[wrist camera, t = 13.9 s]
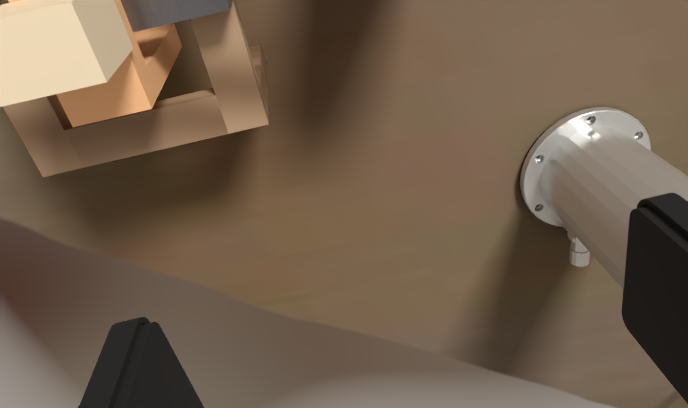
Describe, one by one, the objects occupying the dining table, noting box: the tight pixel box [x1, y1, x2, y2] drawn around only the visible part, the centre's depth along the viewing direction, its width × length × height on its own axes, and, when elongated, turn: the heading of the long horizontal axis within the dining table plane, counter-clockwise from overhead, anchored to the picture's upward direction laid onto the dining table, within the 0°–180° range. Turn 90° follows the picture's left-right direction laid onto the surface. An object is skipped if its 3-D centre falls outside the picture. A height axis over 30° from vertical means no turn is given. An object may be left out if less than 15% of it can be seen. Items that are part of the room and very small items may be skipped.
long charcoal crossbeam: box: [0, 0, 233, 32], centre depth 26 cm, size 2×14×2 cm, turn 101°
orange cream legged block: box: [0, 0, 182, 127], centre depth 27 cm, size 9×5×17 cm, turn 11°
